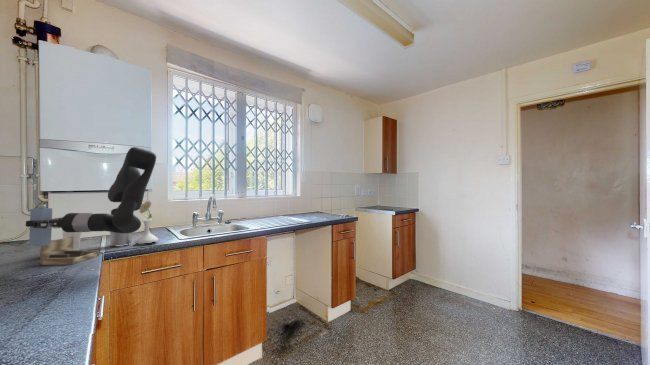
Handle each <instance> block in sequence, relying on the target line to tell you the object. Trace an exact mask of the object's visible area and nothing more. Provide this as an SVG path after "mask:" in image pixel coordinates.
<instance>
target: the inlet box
mask: <svg viewBox="0 0 650 365" xmlns="http://www.w3.org/2000/svg"><path fill="white" fill-rule="evenodd" d="M73 241H74V237H68V238H63V237H62V238H58V239H54V240H53V239H51V244H48V245H43V246H40V252H39V253H40V254H39V266H55V265H74V264H75V265H76V264H77V263H80V262H81V263H82V262H85V261H88V260H90V259H93V257H94V258H97V257H99V256H100V250H97V249H96V250H83V249H82V250H80V249H79V250H73ZM96 256H97V257H96Z"/></svg>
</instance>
